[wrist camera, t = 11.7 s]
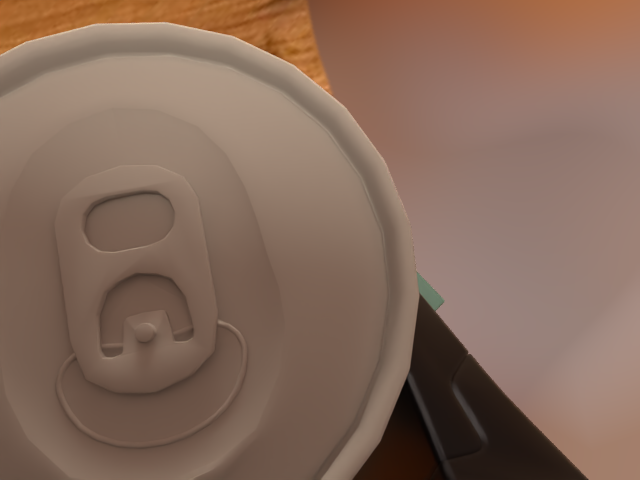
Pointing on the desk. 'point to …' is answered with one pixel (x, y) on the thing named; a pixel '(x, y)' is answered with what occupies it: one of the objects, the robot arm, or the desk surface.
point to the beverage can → (192, 264)
